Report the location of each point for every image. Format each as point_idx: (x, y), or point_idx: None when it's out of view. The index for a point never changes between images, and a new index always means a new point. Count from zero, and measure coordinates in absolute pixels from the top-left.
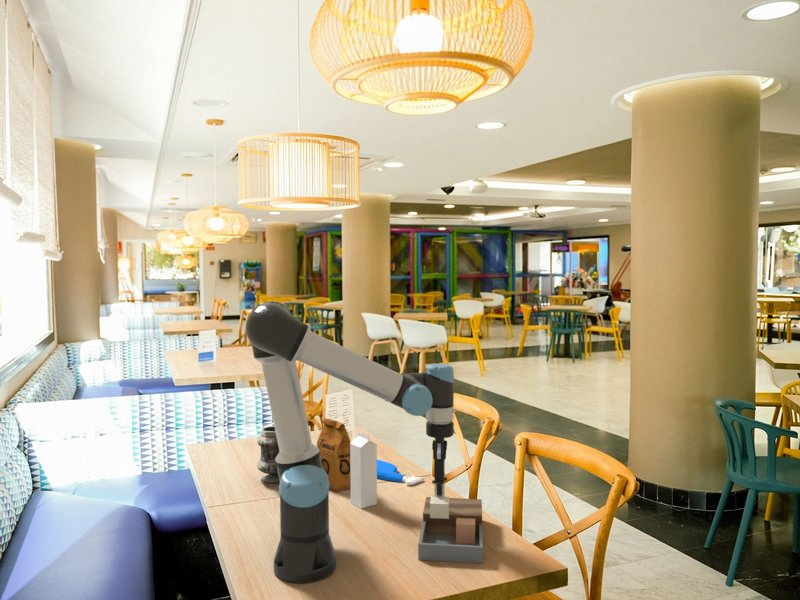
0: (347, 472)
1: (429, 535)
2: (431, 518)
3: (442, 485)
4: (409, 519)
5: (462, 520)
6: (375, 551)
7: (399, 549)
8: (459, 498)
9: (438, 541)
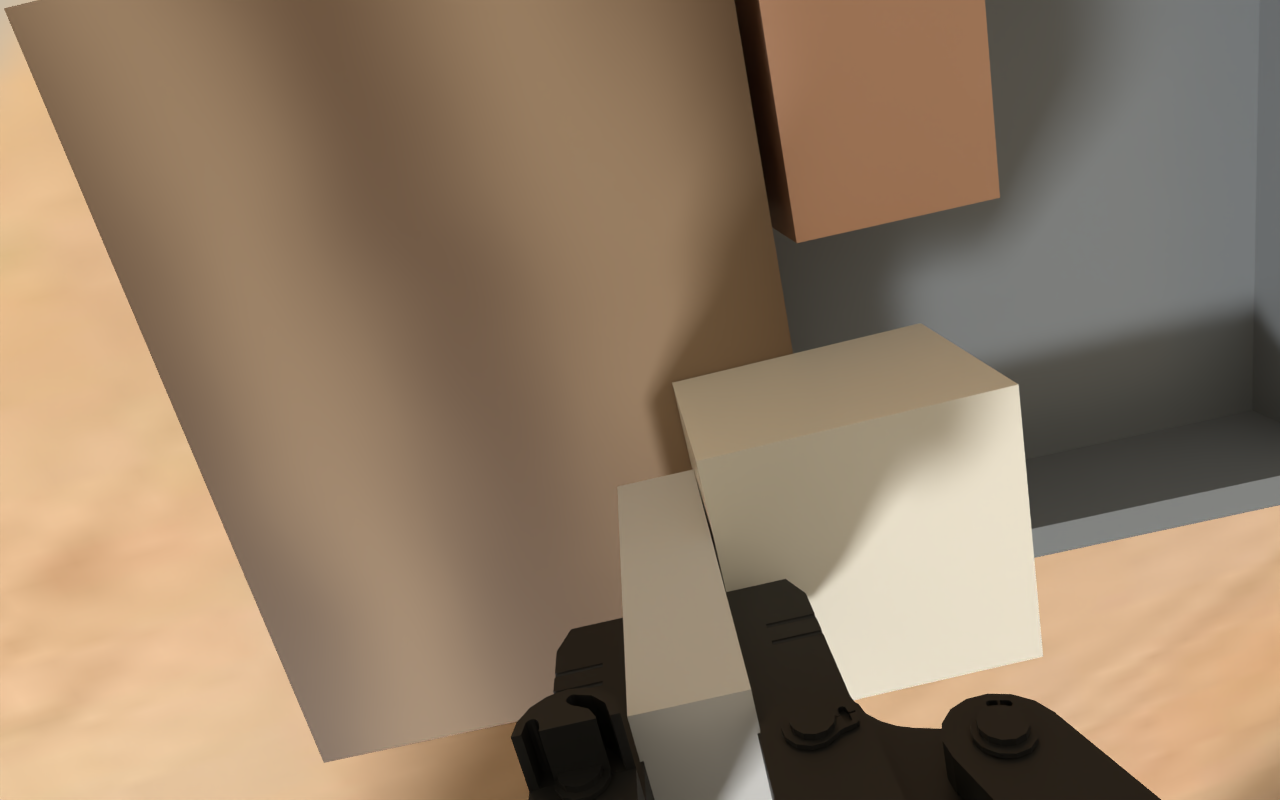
0: None
1: None
2: None
3: (752, 691)
4: (500, 727)
5: (866, 138)
6: (1160, 758)
7: (1098, 617)
8: (159, 364)
9: None
